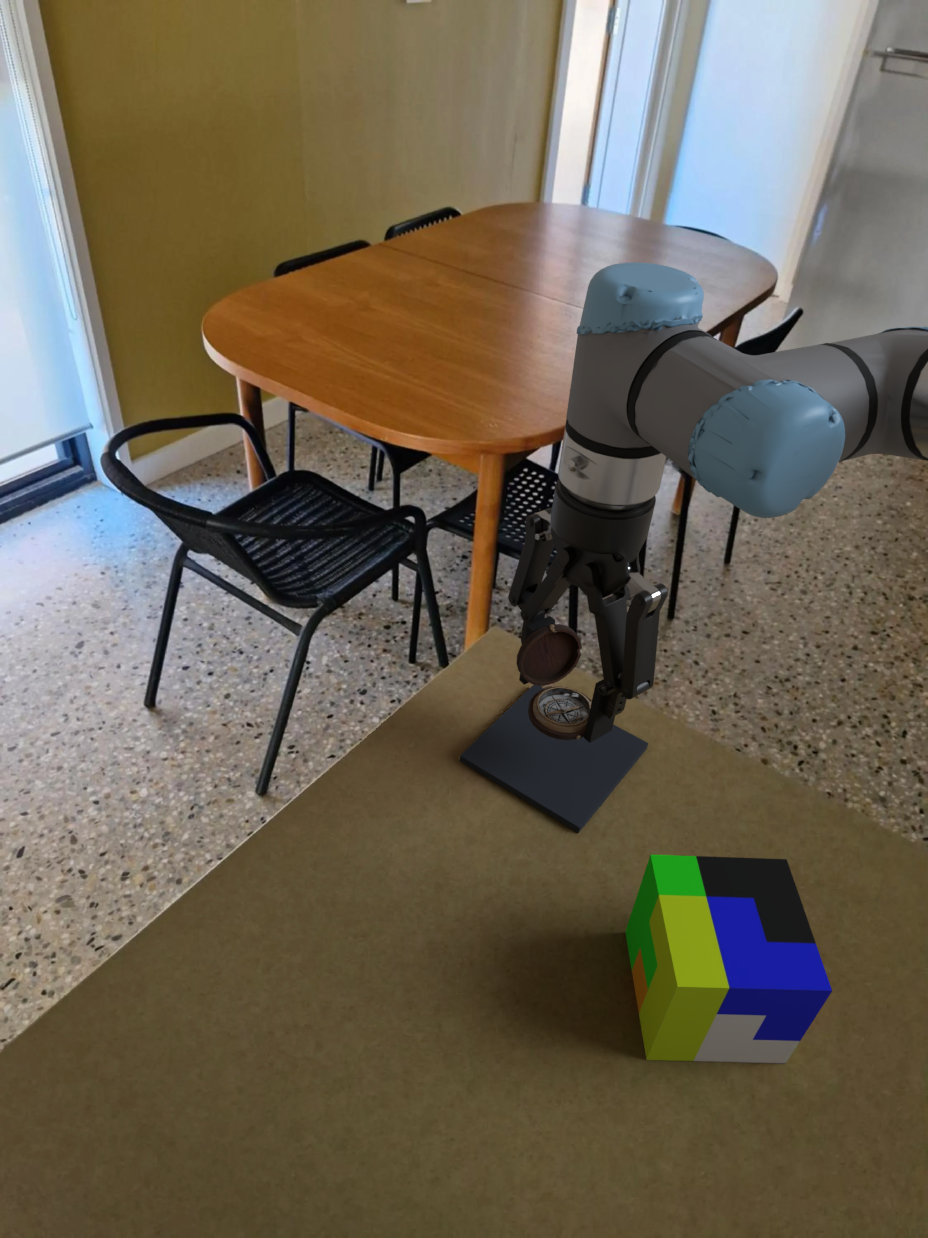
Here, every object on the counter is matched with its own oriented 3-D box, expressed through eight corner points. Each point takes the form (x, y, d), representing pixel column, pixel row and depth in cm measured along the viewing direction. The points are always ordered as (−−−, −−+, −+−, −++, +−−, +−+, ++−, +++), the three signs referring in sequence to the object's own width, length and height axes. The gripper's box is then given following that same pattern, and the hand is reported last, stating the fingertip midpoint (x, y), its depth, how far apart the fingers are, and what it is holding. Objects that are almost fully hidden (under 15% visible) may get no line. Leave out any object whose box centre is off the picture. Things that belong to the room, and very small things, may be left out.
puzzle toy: (785, 1063, 63) (832, 991, 57) (646, 1060, 62) (677, 987, 56) (749, 935, 71) (786, 859, 64) (625, 931, 70) (650, 854, 64)
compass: (546, 750, 76) (557, 688, 71) (509, 688, 82) (518, 627, 77) (627, 730, 78) (643, 669, 74) (587, 672, 84) (599, 612, 79)
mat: (647, 748, 86) (648, 742, 85) (578, 833, 77) (579, 827, 77) (534, 688, 91) (535, 682, 91) (459, 761, 83) (459, 755, 82)
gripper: (480, 439, 70) (461, 655, 84) (678, 572, 58) (616, 798, 72) (551, 417, 74) (521, 627, 88) (750, 537, 62) (678, 759, 76)
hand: (564, 704), depth 80 cm, fingers closed on compass, 8 cm apart
